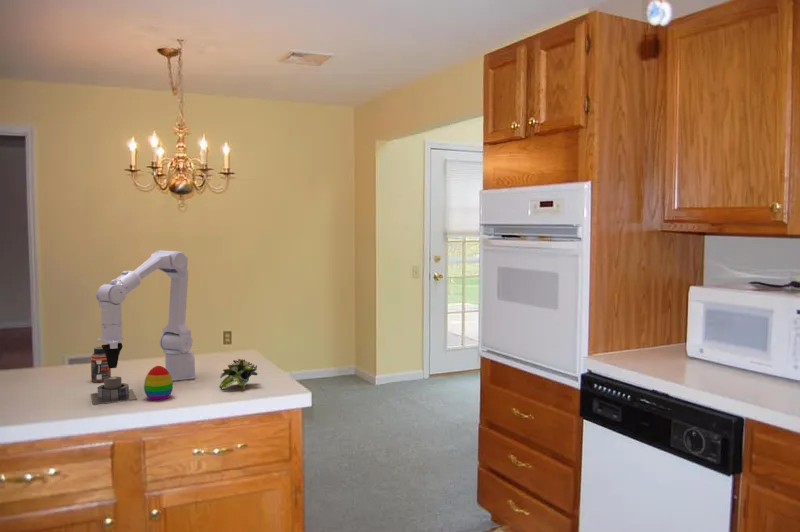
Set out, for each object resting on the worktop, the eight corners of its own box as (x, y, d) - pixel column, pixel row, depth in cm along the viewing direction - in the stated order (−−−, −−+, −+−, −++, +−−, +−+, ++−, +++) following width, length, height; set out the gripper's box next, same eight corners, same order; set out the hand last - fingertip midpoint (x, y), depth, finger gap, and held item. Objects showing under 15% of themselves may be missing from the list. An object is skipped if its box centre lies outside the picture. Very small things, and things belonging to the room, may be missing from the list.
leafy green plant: (239, 401, 208) (257, 368, 212) (249, 403, 199) (268, 369, 203) (210, 384, 204) (229, 352, 208) (218, 386, 195) (238, 352, 199)
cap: (120, 393, 195) (120, 375, 195) (122, 397, 191) (122, 378, 191) (103, 395, 193) (103, 377, 193) (105, 399, 189) (104, 380, 188)
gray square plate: (132, 389, 200) (132, 379, 200) (136, 399, 190) (136, 388, 190) (90, 394, 195) (90, 384, 194) (92, 404, 184) (92, 393, 184)
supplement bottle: (103, 383, 208) (102, 349, 207) (87, 382, 209) (86, 348, 208) (114, 378, 214) (114, 346, 213) (99, 377, 215) (98, 345, 214)
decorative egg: (148, 403, 186) (147, 370, 185) (141, 397, 193) (140, 365, 192) (176, 399, 191) (175, 366, 190) (168, 392, 197) (168, 361, 197)
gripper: (95, 321, 195) (96, 364, 196) (98, 328, 182) (99, 374, 183) (120, 319, 198) (121, 361, 199) (124, 326, 186) (125, 371, 187)
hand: (112, 367), depth 191 cm, fingers closed
